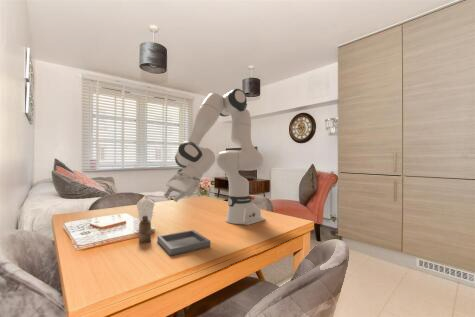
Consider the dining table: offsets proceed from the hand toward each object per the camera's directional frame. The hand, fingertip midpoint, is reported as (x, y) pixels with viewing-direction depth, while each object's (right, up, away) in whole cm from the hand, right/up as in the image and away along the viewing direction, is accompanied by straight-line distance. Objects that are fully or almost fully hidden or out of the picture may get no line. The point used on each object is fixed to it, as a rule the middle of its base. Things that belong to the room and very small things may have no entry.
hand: (169, 198), depth 107 cm
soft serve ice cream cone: (-15, -16, +12) cm, 25 cm away
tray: (+9, -17, -11) cm, 22 cm away
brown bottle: (-8, -16, -8) cm, 20 cm away
